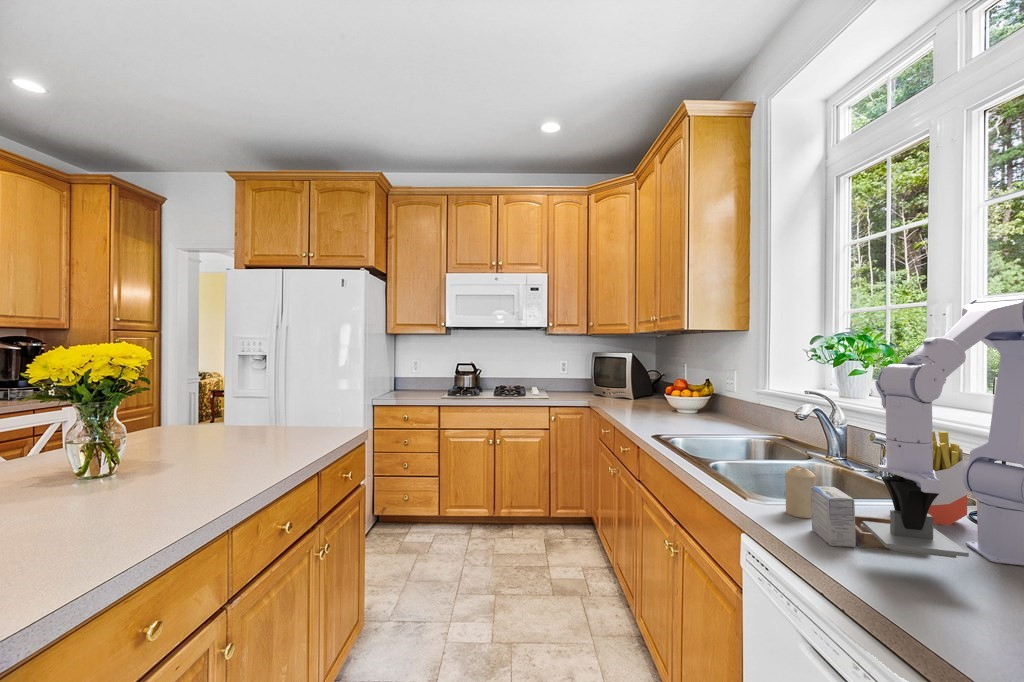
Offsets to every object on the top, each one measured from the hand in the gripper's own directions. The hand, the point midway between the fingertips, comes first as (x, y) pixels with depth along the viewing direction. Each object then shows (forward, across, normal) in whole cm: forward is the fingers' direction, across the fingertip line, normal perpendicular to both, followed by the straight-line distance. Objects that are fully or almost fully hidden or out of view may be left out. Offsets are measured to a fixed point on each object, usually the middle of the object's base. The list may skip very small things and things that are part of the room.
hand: (910, 526), depth 77 cm
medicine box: (+8, -12, -8) cm, 16 cm away
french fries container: (+8, -29, +14) cm, 33 cm away
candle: (+8, -25, -10) cm, 28 cm away
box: (+7, -14, +1) cm, 16 cm away
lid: (+2, 0, 0) cm, 2 cm away
